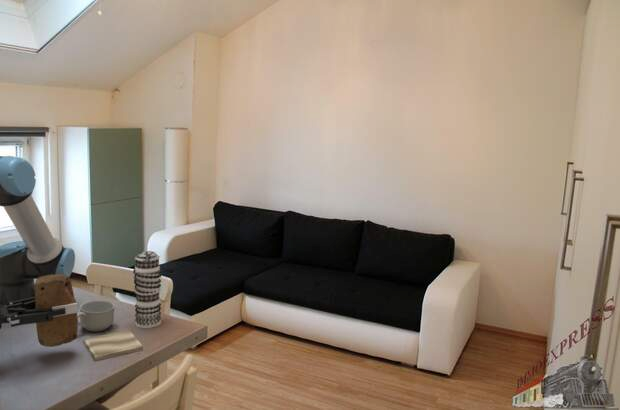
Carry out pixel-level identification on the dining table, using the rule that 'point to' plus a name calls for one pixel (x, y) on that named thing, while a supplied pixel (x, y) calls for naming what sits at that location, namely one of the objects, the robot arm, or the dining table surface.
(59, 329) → the block
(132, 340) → the beige packet
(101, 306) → the teacup
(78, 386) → the dining table surface
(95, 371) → the dining table surface
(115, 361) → the dining table surface
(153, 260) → the decorative candle
